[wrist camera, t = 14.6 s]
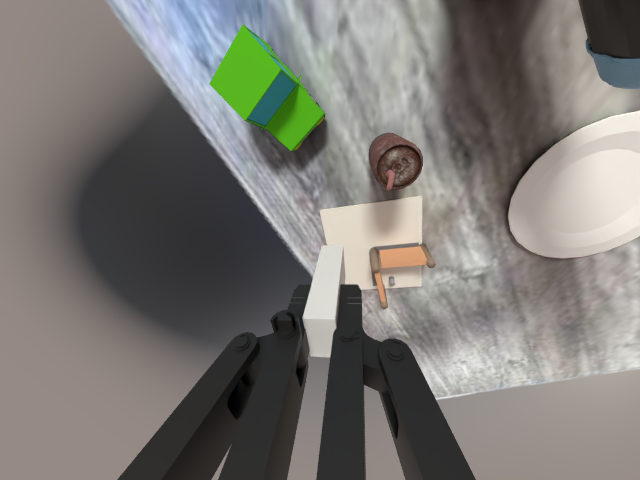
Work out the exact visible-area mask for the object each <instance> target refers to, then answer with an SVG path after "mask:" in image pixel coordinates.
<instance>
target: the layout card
mask: <svg viewBox="0 0 640 480" xmlns="http://www.w3.org/2000/svg"><path fill="white" fill-rule="evenodd" d="M320 214H321V219H322V223H323V228H324V233H325V237H326V242H327V246H329V245H343V249H344V262H345V276H346V277H345V284H358V286H359V287H360V289H361V290H367V289H378V286H377V282H376V278H375V274H374V272H372V270H371V259H370V249H371V248H376V249H377V252H378V259H379V266H380V272H381V276H382V281H383V284H384V285H385V288H403V287H420V286H421V284H422V265H416V266H403V267H390V268H382V266H381V260H380V254H379V250H386V249H397V248H407V247H418V246H419V245H420V244H422V196H416V197H409V198H402V199H395V200H388V201H380V202H373V203H366V204H359V205H352V206H345V207H338V208H331V209H323V210H320Z"/></svg>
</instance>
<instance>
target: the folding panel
mask: <svg viewBox="0 0 640 480" xmlns="http://www.w3.org/2000/svg"><path fill="white" fill-rule="evenodd" d="M374 274H375V278H376V282H377V286H378V291H379V295H380V302H381V308H383V309H386V308H388V304H387V298H386V291H385V285H384V284H383V281H382V276H381V272H380V271H379V272H378V273H374Z"/></svg>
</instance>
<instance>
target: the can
mask: <svg viewBox="0 0 640 480" xmlns="http://www.w3.org/2000/svg"><path fill="white" fill-rule="evenodd" d="M369 158H370V162H371V166H372V169H373V173H374V176H375V178H376V180H377V181H378V182H379V183H380V184H381V185H382V186H384V187H385V188H386V190H387V191H389V190H391V189H395V190H396V189H402V188H405V187H407V186H409V185H410V184H412V183H413V182H414V181H415V180H416V179H417V177H418V176H419V174H420V173H421V170H422V166H423V156H422V154H421V151H420V149H419V148H418V147H417V146H416V145H415V144H413V143H411V142H409V141H408V140H406V139H404V138H402V137H400V136H398V135H396V134H394V133H385V134H382V135H380V136H378V137H377V138H376V139H375V140H374V141H373V142H372V144H371V146H370V149H369Z"/></svg>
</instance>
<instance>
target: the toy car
mask: <svg viewBox="0 0 640 480" xmlns="http://www.w3.org/2000/svg"><path fill="white" fill-rule="evenodd" d="M301 78H302V75H301V76H300V77H299V79H297V78H296V76H295V75H294V74H293V73H292V72H291V70H290V69H289V68H288V67H287V66H286V65H285V64H284V63H283V62H282V60H281V59H280V58H279V57H278V56H277V55H276V54H275V53H274V52H273V49H272V48H271V47H270V46H269V44H267V43H266V42H265V41H263V40H262V39H261V38H260V37H258V36H257V35H256V34H255V33H253V32H252V31H251V30H249V29H248V28H247V27H246V26H244V25H242V27H241V29H240V30H239V32H238V34H237V36H236V37H235V39H234V41H233V43H232V45H231V46H230V48H229V50H228V52H227V53H226V55H225V57H224V59H223V61H222V62H221V64H220V66H219V68H218V69H217V71H216V73H215V75H214V77H213V78H212V80H211V82H210V85H211V86H212V87H213V88H214V89H215V90H216V91H217V92H218V93H219V94H220V95H221V96H222V97H223V98H224V99H225V100H226V101H227V103H228V104H229V105H230V106H231V107H232V108H233V109H234V110H235V111H236V112H237V113H238V114H239V115H240V116H241V117H242V118H243V119H244V120H245V121H247V122H250V123H253V124H255V125H258V126H260V127H262V128H261V129H260V130H259V131H260V132H261V131H262V130H263V128H266V129H267V130H268V131H269V132H270V133H271V134H272V135H274V136H275V137H276V138H277V139H278V140H279V141H280V142H281V143H282V144H283V145H285V146H286V147H287V148H288V149H289V150H290V151H292V150H293V151H294V150H297V149H298V147H299V146H300V145H301V143H302V142H303V141H304V140H305V139H306V138H307V136H308V135H309V134H310V133H311V132H312V131H313V130H314V129H315V127H316V126H317V125H319V124H320V123H321V122H322V120H323V118H324V117H325V112H324V111H323V110H322V109H321V107H320V106H319V105H318V103H317V102H316V101H315V99H314V98H313V97H312V96H311V95H310V94H309V93H308V92H307V89H306V88H305V87H304V86H303V85H302V83H301V82H300V79H301Z"/></svg>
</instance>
